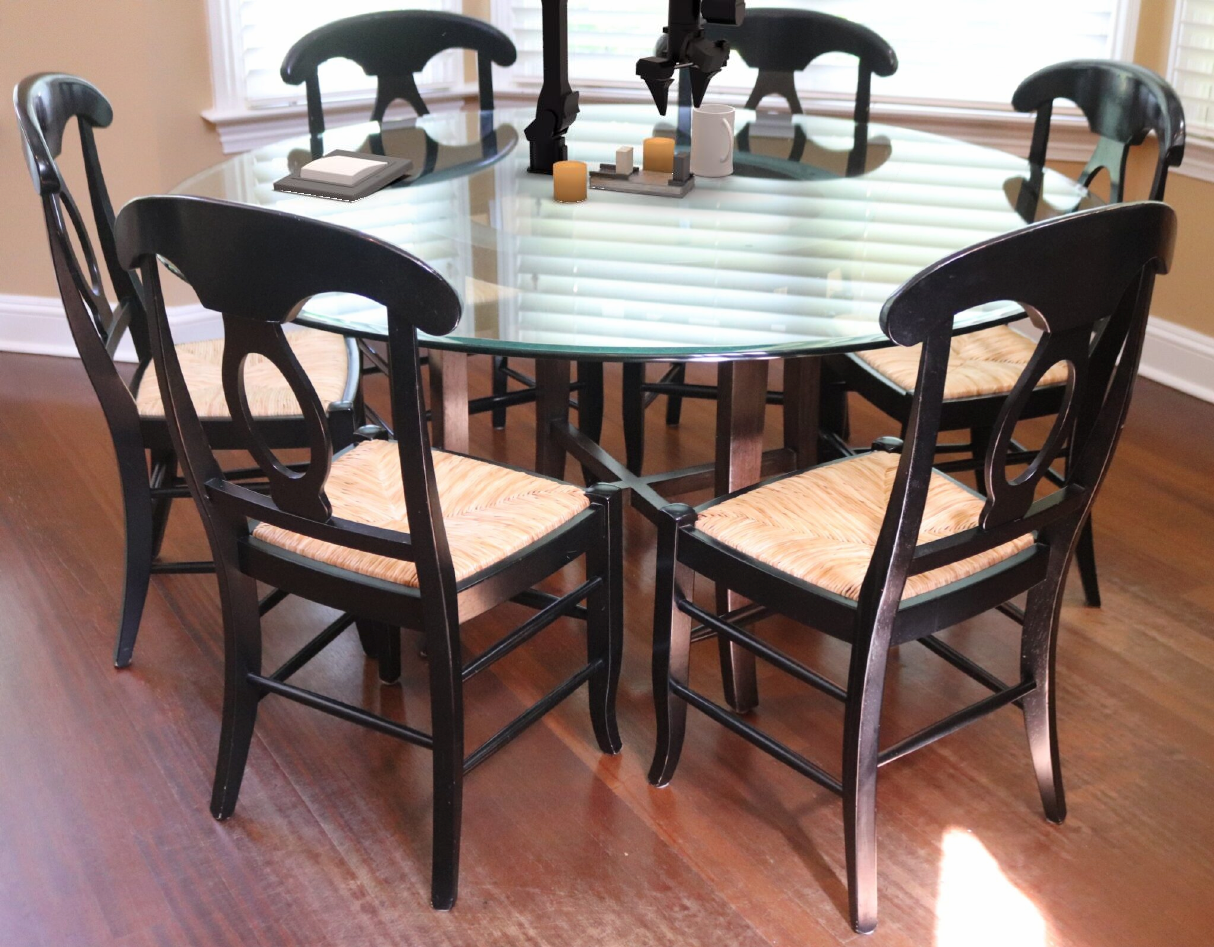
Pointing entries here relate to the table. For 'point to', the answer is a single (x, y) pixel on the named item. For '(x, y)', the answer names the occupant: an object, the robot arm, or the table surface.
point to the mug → (712, 140)
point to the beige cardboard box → (624, 160)
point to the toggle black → (681, 166)
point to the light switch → (345, 175)
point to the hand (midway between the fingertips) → (680, 111)
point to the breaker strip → (640, 181)
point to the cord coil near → (570, 181)
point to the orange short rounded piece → (658, 154)
